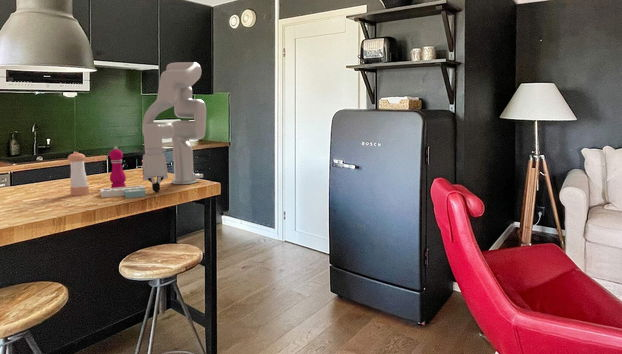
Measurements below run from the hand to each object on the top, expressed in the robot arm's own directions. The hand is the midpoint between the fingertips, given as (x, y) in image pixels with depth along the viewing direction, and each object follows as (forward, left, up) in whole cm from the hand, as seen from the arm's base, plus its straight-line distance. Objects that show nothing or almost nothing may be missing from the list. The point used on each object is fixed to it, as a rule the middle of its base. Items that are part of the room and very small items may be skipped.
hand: (156, 191), depth 199 cm
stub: (+9, 0, -1) cm, 9 cm away
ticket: (+13, -7, -1) cm, 15 cm away
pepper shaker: (+30, -17, -1) cm, 35 cm away
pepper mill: (+13, -25, -1) cm, 28 cm away
